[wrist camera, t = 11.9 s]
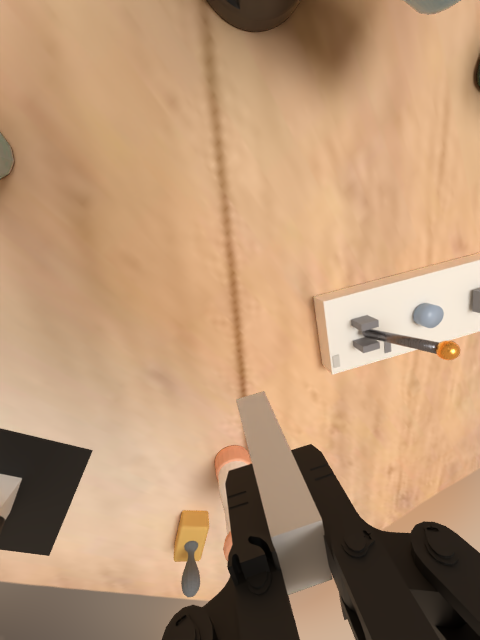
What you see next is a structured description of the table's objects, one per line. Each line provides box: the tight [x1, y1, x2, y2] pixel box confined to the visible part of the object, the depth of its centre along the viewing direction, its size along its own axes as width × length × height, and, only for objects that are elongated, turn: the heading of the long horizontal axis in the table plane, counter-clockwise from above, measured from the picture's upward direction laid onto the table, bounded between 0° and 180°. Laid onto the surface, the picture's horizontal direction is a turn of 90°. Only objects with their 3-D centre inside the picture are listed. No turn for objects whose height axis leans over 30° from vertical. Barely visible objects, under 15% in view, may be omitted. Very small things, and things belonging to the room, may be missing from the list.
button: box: [413, 303, 444, 328], centre depth 46 cm, size 4×4×2 cm
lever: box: [362, 329, 460, 360], centre depth 40 cm, size 3×3×14 cm
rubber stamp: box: [174, 511, 209, 597], centre depth 53 cm, size 10×6×12 cm, turn 167°
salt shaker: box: [215, 445, 251, 561], centre depth 46 cm, size 7×7×19 cm
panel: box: [313, 253, 480, 374], centre depth 48 cm, size 14×36×7 cm, turn 103°
